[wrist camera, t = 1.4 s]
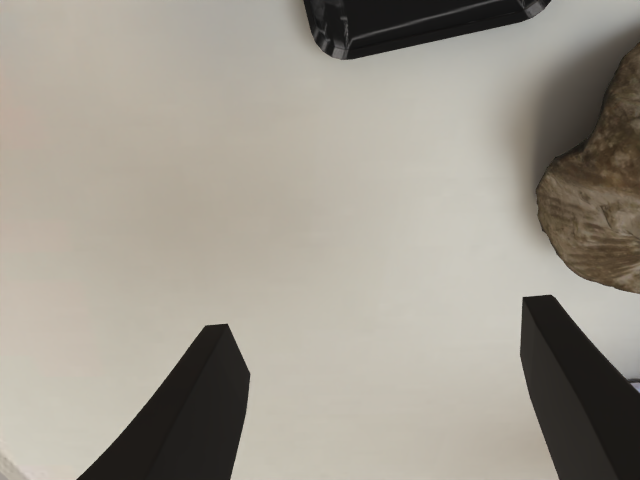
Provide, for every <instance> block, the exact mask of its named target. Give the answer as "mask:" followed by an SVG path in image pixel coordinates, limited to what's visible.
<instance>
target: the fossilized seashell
mask: <svg viewBox="0 0 640 480" xmlns="http://www.w3.org/2000/svg"><path fill="white" fill-rule="evenodd" d="M536 194H537V205H538V219H539V221H540V224H541V227H542V231H544V232H545V233H546V234H547V236H548V237H549V240H550V242H551V244H552V246H553V247H554V249H555V251H556V254H557V255H558V256H559V257H560V258H561V259H562V260H563V261H564V263H565V264H566V266H567V267H568V268H569V269H571V270H572V271H573V272H574V273H575V274H577V275H578V276H580V277H582V278H584V279H586V280H589V281H593V282H597V283H600V284H602V285H605V286H610V287H614V288H616V289H619V290H623V291H627V292H633V293H638V294H640V42H639V43H638V44H637V45H636V47H635V48H634V49H632V50H631V51H630V52H629V53H627V54H626V55H625V56H624V57H623V59H622V60H621V62H620V64H619V67H618V69H617V71H616V72H615V75H614V77H613V79H612V81H611V82H610V84H609V86H608V87H607V89H606V91H605V94H604V98H603V103H602V107H601V112H600V116H599V119H598V122H597V124H596V127H595V129H594V131H593V133H592V134H591V135H590V136H589V137H588V138H587V139H586V140H584V141H583V142H581V143H580V144H579V145H577V146H576V147H575V148H573V149H571V150H570V151H568V152H566V153H565V154H563V155H561V156H559V157H556V158H555V159H554V160H553V161H552V163H551V164H550V165H549V167H547V169H546V171H545V173H544V175H543V177H542V179H541V181H540V183H539V185H538V186H537V188H536Z"/></svg>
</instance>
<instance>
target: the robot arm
mask: <svg viewBox="0 0 640 480" xmlns="http://www.w3.org/2000/svg"><path fill="white" fill-rule="evenodd" d="M520 357H521V362H522V366H523V370H524V375H525V379H526V383H527V387H528V391H529V395H530V399H531V402H532V404H533V407H534V410H535V413H536V416H537V419H538V421H539V424H540V427H541V430H542V433H543V435H544V438H545V441H546V444H547V446H548V449H549V452H550V455H551V457H552V460H553V463H554V466H555V469H556V471H557V474H558V477H559V480H640V383H629V382H628V381H627V380H626V379H625V378H624V377H623V376H622V375H621V373H620V372H619V371H618V370H617V369H616V368H615V367H614V366H613V365H612V364H611V363H610V362H609V361H608V360H607V359H606V358H605V356H604V355H603V354H602V353H601V352H600V351H599V350H598V349H597V348H596V347H595V346H594V344H593V343H592V342H591V341H590V340H589V339H588V338H587V336H586V335H585V334H584V333H583V332H582V331H581V329H580V328H579V327H578V326H577V325H576V323H575V322H574V321H573V320H572V319H571V317H570V316H569V315H568V314H567V312H566V311H565V310H564V308H563V307H562V306H561V305H560V303H559V302H558V301H557V299H556V298H555V297H553V296H552V295H542V296H531V297H523V303H522V324H521V346H520ZM249 382H250V372H249V370H248V368H247V366H246V363H245V361H244V359H243V357H242V355H241V352H240V350H239V348H238V346H237V344H236V341H235V339H234V337H233V335H232V332H231V330H230V328H229V326H228V324H218V325H207V326H205V327H204V328H203V329H202V331H201V332H200V333H199V335H198V336H197V337H196V339H195V340H194V341H193V343H192V344H191V345H190V347H189V348H188V349H187V351H186V352H185V354H184V355H183V356H182V358H181V359H180V360H179V362H178V363H177V364H176V366H175V367H174V368H173V370H172V371H171V373H170V374H169V375H168V376H167V378H166V379H165V380H164V382H163V383H162V384H161V386H160V387H159V388H158V389H157V391H156V392H155V393H154V395H153V396H152V397H151V399H150V400H149V401H148V402H147V404H146V405H145V406H144V407H143V408H142V410H141V411H140V412H139V413H138V414H137V416H136V417H135V418H134V419H133V420H132V422H131V423H130V424H129V425H128V426H127V428H126V429H125V430H124V431H123V432H122V433H121V434H120V435H119V437H118V438H117V439H116V440H115V441H114V442H113V443H112V444H111V445H110V447H109V448H108V449H107V450H106V451H105V452H104V453H103V454H102V455H101V456H100V457H99V458H98V459H97V460H96V461H95V462H94V463H93V464H92V465H91V466H90V467H89V468H88V469H87V470H86V471H85V472H84V473H83V474H82V475H81V476H80V477H79V478H78V479H76V480H230V478H231V474H232V470H233V466H234V462H235V458H236V453H237V449H238V445H239V441H240V437H241V432H242V428H243V424H244V420H245V415H246V409H247V401H248V392H249Z"/></svg>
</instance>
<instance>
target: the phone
mask: <svg viewBox="0 0 640 480" xmlns="http://www.w3.org/2000/svg"><path fill="white" fill-rule="evenodd" d="M303 1H304V5H305V9H306V13H307V17H308V21H309V25H310V29H311V33H312V35H313V37H314V40H315V42H316V44H317V45H318V46H319V47H320V49H321V50H322V51H323V52H325V53H326V54H328V55H329V56H331V57H333V58H337V59H341V60H348V59H356V58H360V57H365V56H369V55H374V54H378V53H383V52H387V51H392V50H397V49H401V48H406V47H410V46H415V45H419V44H424V43H428V42H433V41H437V40H442V39H446V38H451V37H455V36H460V35H464V34H469V33H474V32H478V31H483V30H487V29H492V28H496V27H501V26H505V25H510V24H514V23H519V22H522V21H525V20H528V19H530V18H533V17H534V16H536V15H537V14H538V13H540V12H541V11H542V10H544V9H545V7H546V6H547V5H548V4H549V3H550V1H551V0H303Z"/></svg>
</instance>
